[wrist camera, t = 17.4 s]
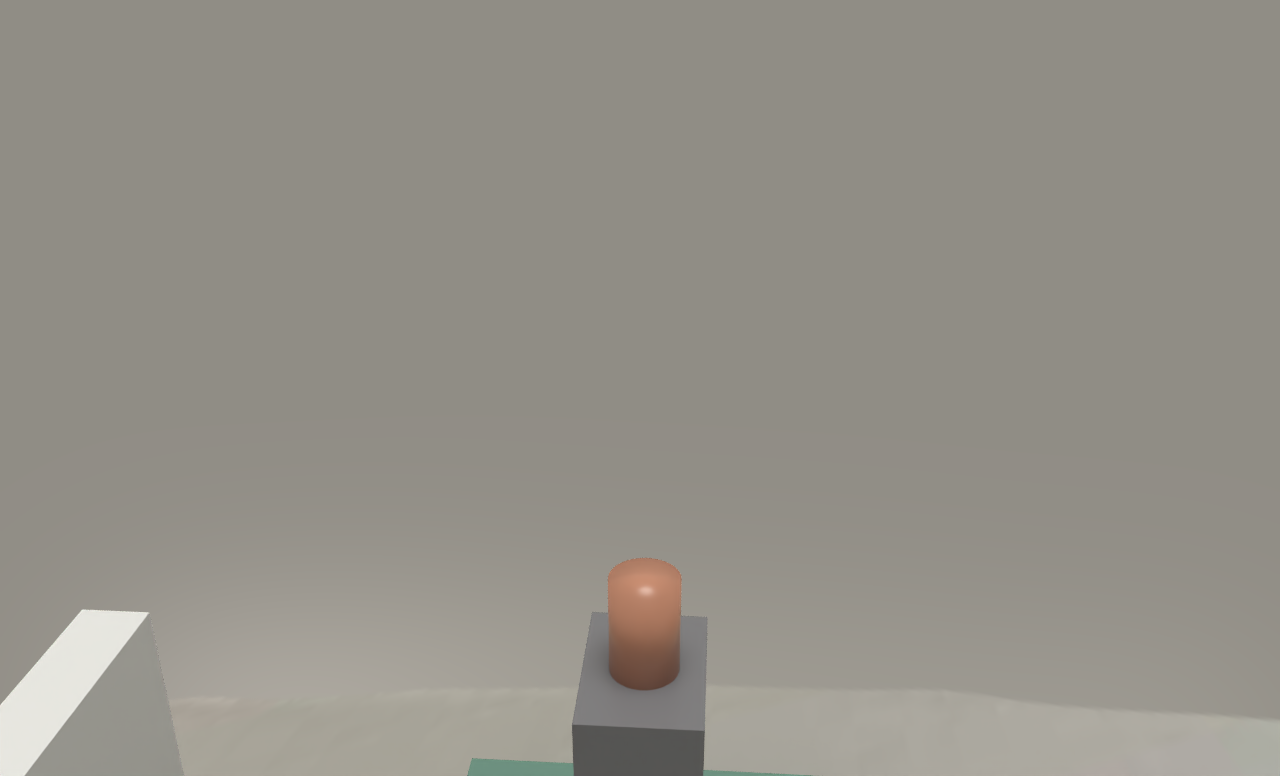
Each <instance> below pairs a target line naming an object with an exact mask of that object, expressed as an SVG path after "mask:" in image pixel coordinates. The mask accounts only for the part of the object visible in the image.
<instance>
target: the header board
mask: <svg viewBox="0 0 1280 776" xmlns="http://www.w3.org/2000/svg"><path fill="white" fill-rule="evenodd" d="M467 776H574V770H573V763H553V762H534V761H514V760H494V759H474V758H472V761H471V764H470V768H469V771H468V775H467ZM703 776H811V775H791V774H772V773H752V772H732V771H712V770H703Z"/></svg>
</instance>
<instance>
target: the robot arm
mask: <svg viewBox="0 0 1280 776" xmlns="http://www.w3.org/2000/svg"><path fill="white" fill-rule="evenodd" d="M0 776H184V772H183V768H182V763H181V758H180V754H179V749H178V744H177V740H176V735H175V730H174V726H173V721H172V716H171V711H170V707H169V702H168V697H167V693H166V688H165V683H164V679H163V674H162V669H161V665H160V661H159V655H158V651H157V646H156V641H155V637H154V632H153V627H152V623H151V618H150V614H149V613H147V612H123V611H101V610H100V611H99V610H82V611H81V612H80V613H79V614H78V615H77V617H76V618H75V619H74V620H73V621H72V622H71V624H70V625H69V626H68V627H67V628H66V629H65V630H64V632H63V633H62V634H61V635H60V636H59V638H58V639H57V640H56V641H55V642H54V643H53V644H52V646H51V647H50V648H49V649H48V650H47V651H46V653H45V654H44V655H43V656H42V657H41V658H40V660H39V661H38V662H37V663H36V664H35V666H34V667H33V668H32V669H31V670H30V671H29V672H28V674H27V675H26V676H25V677H24V678H23V680H22V681H21V682H20V683H19V684H18V685H17V686H16V688H15V689H14V690H13V691H12V692H11V693H10V695H9V696H8V697H7V698H6V699H5V701H4V702H3V703H2V704H1V705H0Z"/></svg>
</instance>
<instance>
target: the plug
mask: <svg viewBox="0 0 1280 776" xmlns="http://www.w3.org/2000/svg"><path fill="white" fill-rule="evenodd" d="M706 654H707V617H694V616H681V575H680V572H679V571H678V570H677V569H676V568H675V567H674V566H673V565H671V564H669V563H667V562H665V561H661V560H658V559H652V558H637V559H631V560H627V561H624V562H622V563H620V564H618V565H617V566H615V567H614V568H613V569H612V570H611V571H610V573H609V576H608V613H599V612H592V616H591V622H590V628H589V634H588V638H587V644H586V650H585V655H584V661H583V667H582V672H581V678H580V683H579V689H578V695H577V700H576V706H575V711H574V717H573V723H572V736H573V770H574V776H703V766H704V735H705V696H706V656H707V655H706Z"/></svg>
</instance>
